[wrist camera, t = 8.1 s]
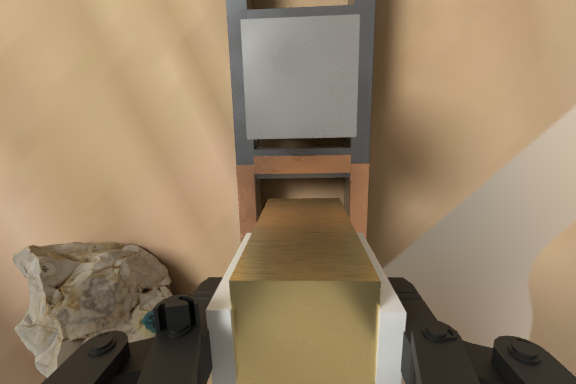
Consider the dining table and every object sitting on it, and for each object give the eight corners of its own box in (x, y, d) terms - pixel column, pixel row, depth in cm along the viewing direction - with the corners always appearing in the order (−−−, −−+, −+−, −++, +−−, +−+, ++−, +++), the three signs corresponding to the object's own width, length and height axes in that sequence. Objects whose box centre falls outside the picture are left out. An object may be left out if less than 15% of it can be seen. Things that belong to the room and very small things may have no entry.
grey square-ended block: (271, 133, 22) (246, 139, 12) (269, 69, 21) (240, 19, 11) (331, 132, 21) (356, 137, 12) (332, 67, 20) (360, 13, 11)
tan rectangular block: (270, 263, 19) (237, 402, 10) (268, 198, 18) (228, 280, 9) (338, 263, 19) (374, 406, 9) (339, 198, 18) (381, 281, 8)
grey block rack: (249, 264, 24) (243, 281, 22) (228, -110, 18) (215, -149, 16) (358, 264, 24) (365, 282, 21) (370, -119, 18) (382, -161, 15)
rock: (221, 330, 24) (115, 422, 15) (167, 355, 26) (43, 451, 17) (162, 204, 26) (34, 215, 17) (116, 237, 28) (-22, 263, 19)
